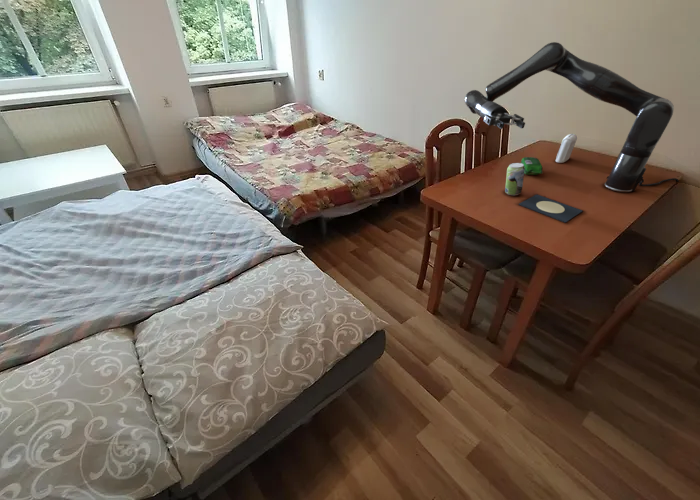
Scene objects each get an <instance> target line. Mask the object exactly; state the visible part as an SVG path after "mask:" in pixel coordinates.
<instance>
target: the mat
mask: <svg viewBox="0 0 700 500" xmlns="http://www.w3.org/2000/svg"><path fill="white" fill-rule="evenodd" d="M518 206H521V207H523V208H525V209H528V210H530V211H533V212H536V213H538V214H541V215H544V216H546V217H549V218H552V219H554V220H557V221H559V222H561V223H564V224H566V223H568V222H569V221H571V220H572V219H574V218H575V217H577V216H579V214H580V215H581V213H583V212H584V210H582V209H580V208H577V207H575V206H571V205H568V204H566V203H562V202H560V201H557V200H554V199H551V198H549V197H546V196H543V195H540V194H537V193H536V194H534V195H533V196H530V197H529V198H527V199H524V200H523V201H521V202H519V203H518Z"/></svg>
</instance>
